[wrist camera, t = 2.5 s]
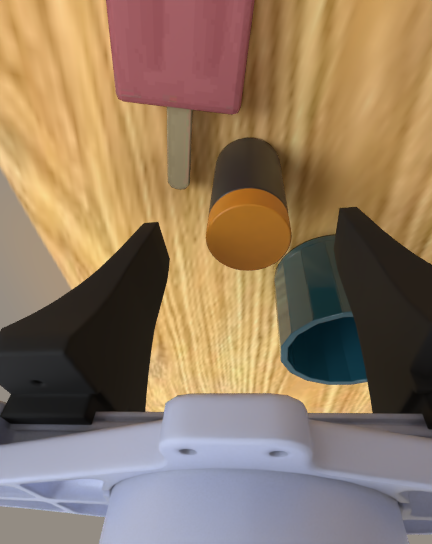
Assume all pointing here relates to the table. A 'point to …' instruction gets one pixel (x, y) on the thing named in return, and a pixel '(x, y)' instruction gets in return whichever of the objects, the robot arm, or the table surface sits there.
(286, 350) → the tumbler
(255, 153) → the glue stick
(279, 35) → the table surface
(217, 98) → the popsicle
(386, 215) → the table surface
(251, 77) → the table surface
